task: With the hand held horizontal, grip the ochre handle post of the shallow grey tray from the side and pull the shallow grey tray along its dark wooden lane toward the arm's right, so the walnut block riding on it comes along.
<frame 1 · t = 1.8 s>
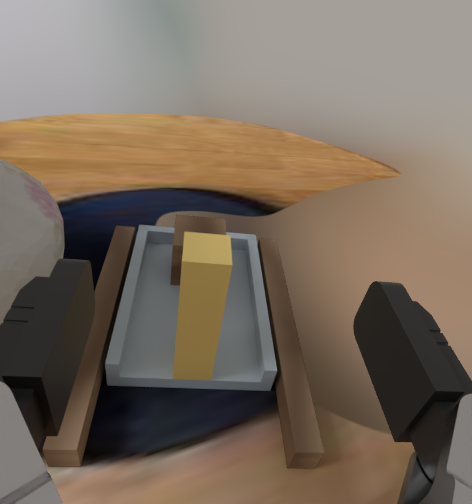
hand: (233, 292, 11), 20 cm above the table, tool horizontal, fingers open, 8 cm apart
block: (196, 270, 40), point 1 cm above the table, touching shallow grey tray
shallow grey tray: (200, 254, 34), point 7 cm above the table, slide at 0.0 cm, touching block
lane: (193, 329, 36), on the table
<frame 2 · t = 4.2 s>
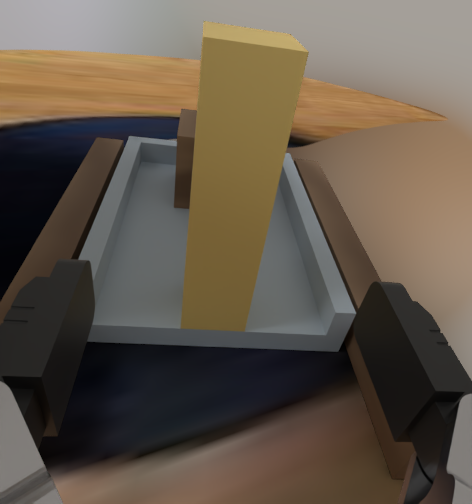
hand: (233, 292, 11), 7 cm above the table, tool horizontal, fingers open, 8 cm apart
block: (210, 192, 28), point 1 cm above the table, touching shallow grey tray
shallow grey tray: (220, 143, 22), point 7 cm above the table, slide at 0.0 cm, touching block
lane: (209, 266, 23), on the table
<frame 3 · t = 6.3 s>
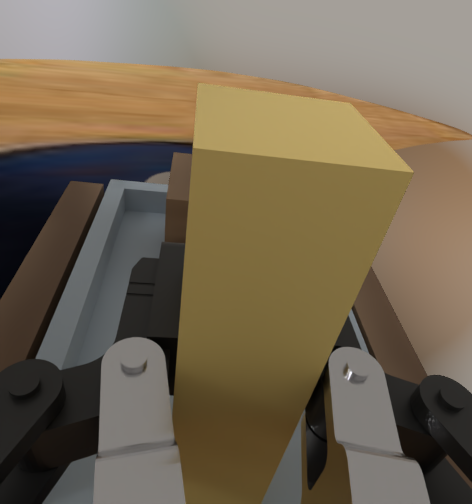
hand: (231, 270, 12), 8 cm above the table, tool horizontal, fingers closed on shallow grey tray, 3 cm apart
block: (210, 255, 23), point 1 cm above the table, touching shallow grey tray
shallow grey tray: (223, 214, 16), point 7 cm above the table, slide at 0.0 cm, touching block, gripper
lane: (208, 370, 18), on the table
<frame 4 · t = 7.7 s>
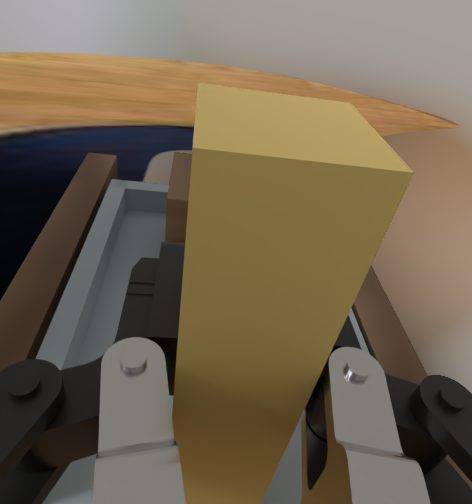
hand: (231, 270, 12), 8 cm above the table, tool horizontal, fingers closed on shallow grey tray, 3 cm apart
block: (210, 255, 23), point 1 cm above the table, touching shallow grey tray
shallow grey tray: (224, 214, 16), point 7 cm above the table, slide at 4.3 cm, touching block, gripper
lane: (208, 303, 21), on the table
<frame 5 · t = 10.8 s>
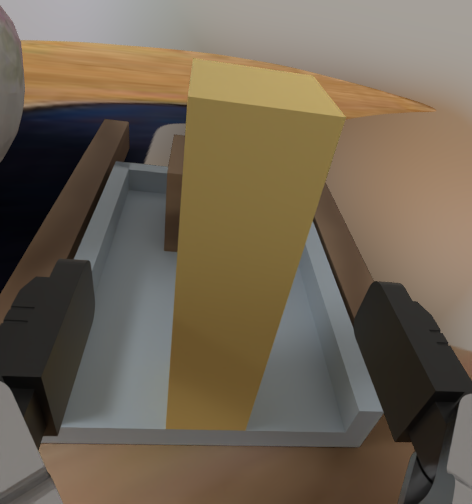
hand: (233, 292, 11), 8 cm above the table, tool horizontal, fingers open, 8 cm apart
block: (207, 229, 25), point 1 cm above the table, touching shallow grey tray
shallow grey tray: (218, 185, 18), point 7 cm above the table, slide at 8.5 cm, touching block
lane: (205, 231, 27), on the table
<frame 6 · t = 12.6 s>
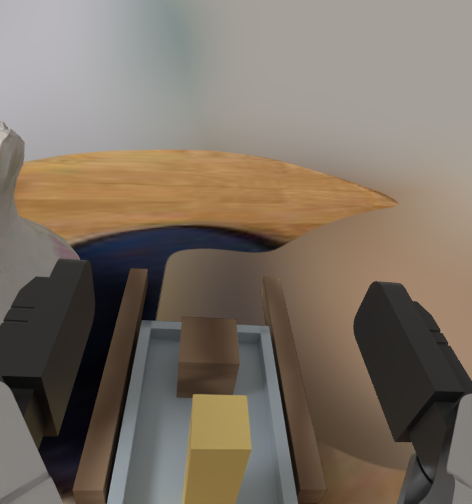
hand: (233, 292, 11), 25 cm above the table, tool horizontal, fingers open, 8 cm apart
block: (204, 374, 36), point 1 cm above the table, touching shallow grey tray
shallow grey tray: (209, 375, 30), point 7 cm above the table, slide at 8.5 cm, touching block
lane: (204, 368, 38), on the table
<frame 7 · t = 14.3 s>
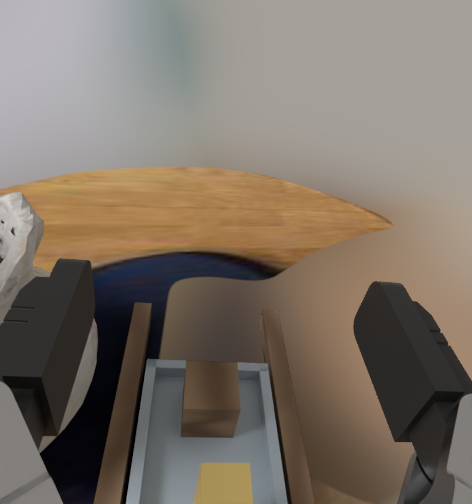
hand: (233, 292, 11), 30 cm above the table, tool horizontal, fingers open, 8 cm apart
block: (207, 412, 39), point 1 cm above the table, touching shallow grey tray
shallow grey tray: (213, 423, 32), point 7 cm above the table, slide at 8.5 cm, touching block
lane: (206, 405, 41), on the table
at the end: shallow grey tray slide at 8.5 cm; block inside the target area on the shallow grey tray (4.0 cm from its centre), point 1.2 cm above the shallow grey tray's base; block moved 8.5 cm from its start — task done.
